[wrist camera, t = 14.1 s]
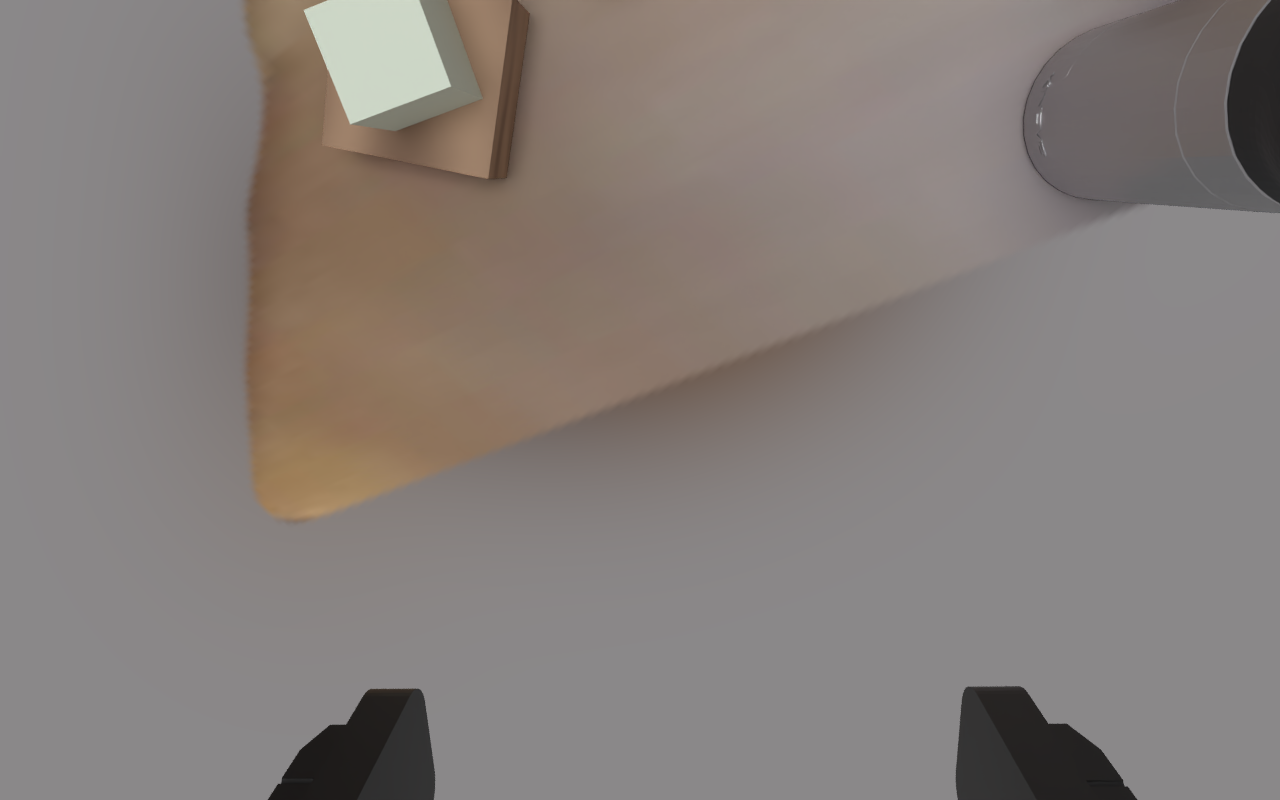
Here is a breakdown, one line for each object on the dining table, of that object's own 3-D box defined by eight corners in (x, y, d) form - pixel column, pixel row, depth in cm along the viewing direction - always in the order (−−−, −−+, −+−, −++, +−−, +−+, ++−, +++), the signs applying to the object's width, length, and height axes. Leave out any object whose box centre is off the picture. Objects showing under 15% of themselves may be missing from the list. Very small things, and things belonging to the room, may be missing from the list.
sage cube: (446, -2, 40) (407, -32, 34) (482, 98, 41) (451, 86, 35) (356, 33, 40) (303, 10, 35) (395, 131, 42) (350, 124, 36)
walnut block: (530, 14, 44) (512, -4, 40) (507, 178, 47) (488, 178, 42) (372, -18, 44) (335, -41, 40) (358, 147, 47) (322, 145, 42)
